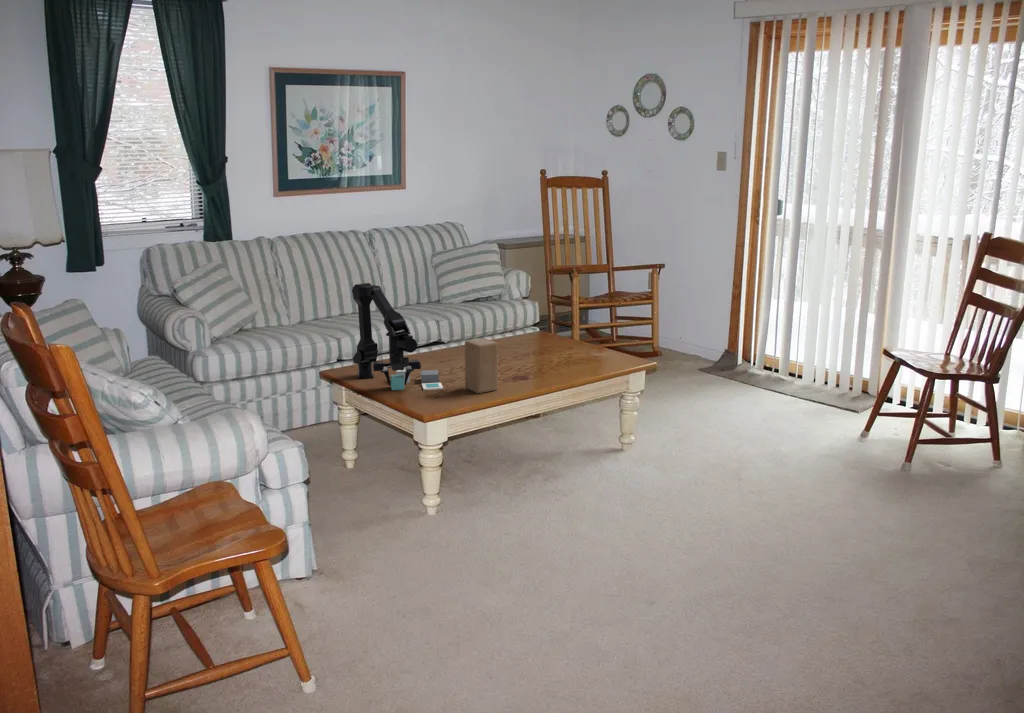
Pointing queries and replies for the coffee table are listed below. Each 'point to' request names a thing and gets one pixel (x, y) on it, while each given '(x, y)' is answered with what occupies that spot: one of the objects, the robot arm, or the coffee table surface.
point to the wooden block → (481, 365)
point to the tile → (432, 386)
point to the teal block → (397, 382)
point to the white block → (402, 372)
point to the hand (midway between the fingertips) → (397, 385)
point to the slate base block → (430, 376)
